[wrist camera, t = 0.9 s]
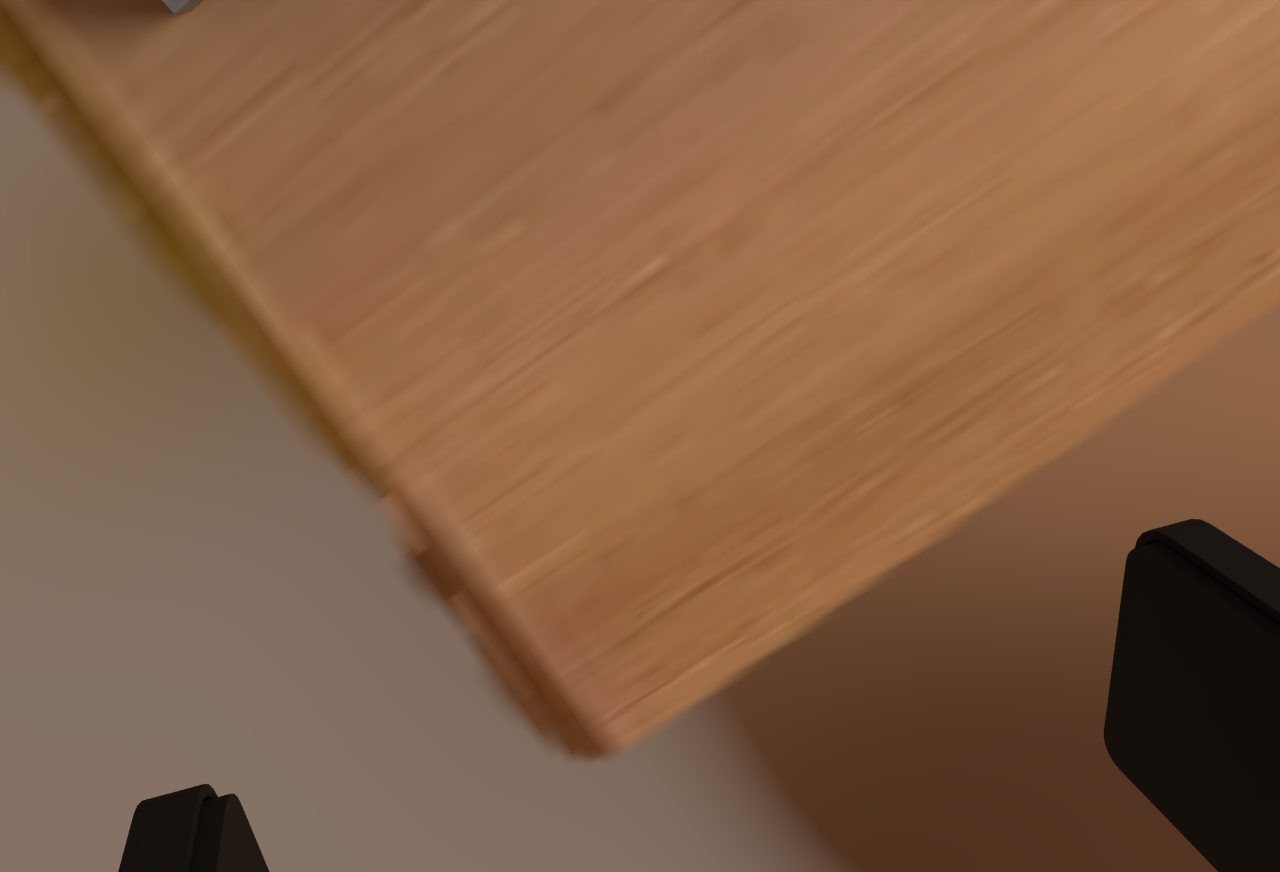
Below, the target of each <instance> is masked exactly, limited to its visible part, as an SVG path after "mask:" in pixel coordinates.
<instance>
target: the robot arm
mask: <svg viewBox="0 0 1280 872" xmlns="http://www.w3.org/2000/svg"><path fill="white" fill-rule="evenodd" d="M1104 740H1105V745H1106V747H1107V750H1108V753H1109V755H1110V757H1111V758H1112V760H1113V762H1114V763H1115V764H1116V766H1117V767H1118V768H1119V769H1120V770H1121V771H1122V772H1123V773H1124V774H1125V775H1126V777H1128V779H1129V780H1130V781H1131V782H1132V783H1133V784H1134V785H1135V786H1136V787H1137V788H1138V789H1139V790H1140V791H1141V792H1142V793H1143V794H1144V795H1145V796H1146V797H1147V798H1148V799H1149V800H1150V801H1151V802H1152V803H1153V804H1154V805H1155V806H1156V808H1157V809H1158V810H1159V811H1160V812H1161V813H1162V814H1163V815H1164V816H1165V817H1166V818H1167V819H1168V820H1169V821H1170V822H1171V823H1172V824H1173V825H1174V826H1175V827H1176V828H1177V829H1178V830H1179V831H1180V832H1181V834H1182V835H1183V836H1184V837H1185V838H1187V840H1188V841H1190V843H1191V844H1192V845H1193V846H1194V847H1195V848H1196V849H1197V850H1198V851H1199V852H1200V853H1201V854H1202V855H1203V856H1204V857H1205V858H1206V859H1207V860H1208V861H1209V862H1210V864H1211V865H1213V867H1214V868H1215V869H1216V870H1217V871H1218V872H1280V568H1278V567H1277V566H1275V565H1274V564H1272V563H1271V562H1269V561H1267V560H1266V559H1264V558H1263V557H1261V556H1260V555H1258V554H1256V553H1255V552H1253V551H1252V550H1250V549H1249V548H1247V547H1245V546H1244V545H1242V544H1241V543H1239V542H1238V541H1236V540H1235V539H1233V538H1231V537H1229V536H1228V535H1227V534H1225V533H1224V532H1222V531H1220V530H1219V529H1217V528H1216V527H1214V526H1213V525H1211V524H1209V523H1207V522H1205V521H1202V520H1199V519H1190V520H1186V521H1182V522H1179V523H1175V524H1171V525H1168V526H1164V527H1160V528H1156V529H1153V530H1149V531H1147V532H1144V533H1142V534H1141V536H1140V537H1139V538H1138V539H1137V542H1136V546H1135V549H1133V550H1131V551H1130V553H1129V554H1128V556H1127V560H1126V566H1125V573H1124V581H1123V590H1122V596H1121V604H1120V612H1119V620H1118V627H1117V635H1116V643H1115V650H1114V658H1113V666H1112V673H1111V681H1110V689H1109V697H1108V704H1107V712H1106V720H1105V727H1104ZM118 872H269V870H268V867H267V865H266V862H265V860H264V858H263V855H262V853H261V851H260V848H259V846H258V843H257V841H256V839H255V836H254V834H253V831H252V829H251V827H250V825H249V822H248V819H247V817H246V815H245V812H244V810H243V807H242V805H241V803H240V801H239V799H238V797H237V796H236V795H235V794H228V795H224V796H221V797H218V796H217V794H216V793H215V791H214V789H213V788H212V787H211V786H210V785H209V784H203V785H199V786H195V787H192V788H188V789H184V790H180V791H177V792H173V793H169V794H165V795H162V796H159V797H155V798H151V799H147V800H143V801H141V803H139V805H137V808H136V810H135V813H134V815H133V819H132V823H131V826H130V830H129V834H128V838H127V841H126V845H125V849H124V853H123V856H122V860H121V864H120V868H119V871H118Z"/></svg>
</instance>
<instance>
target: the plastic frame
mask: <svg viewBox="0 0 1280 872" xmlns="http://www.w3.org/2000/svg"><path fill="white" fill-rule="evenodd" d="M162 1H163V2H164V3H165V4H166V5H167V7H168V8H169V9H170V10H171V11H172V12H173V13H174V14H178V13H185V12H190V11H191V10H192V9H194V8H195V7H196V6H197V5H198V4H199V3H200V2H202V1H203V0H162Z"/></svg>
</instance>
